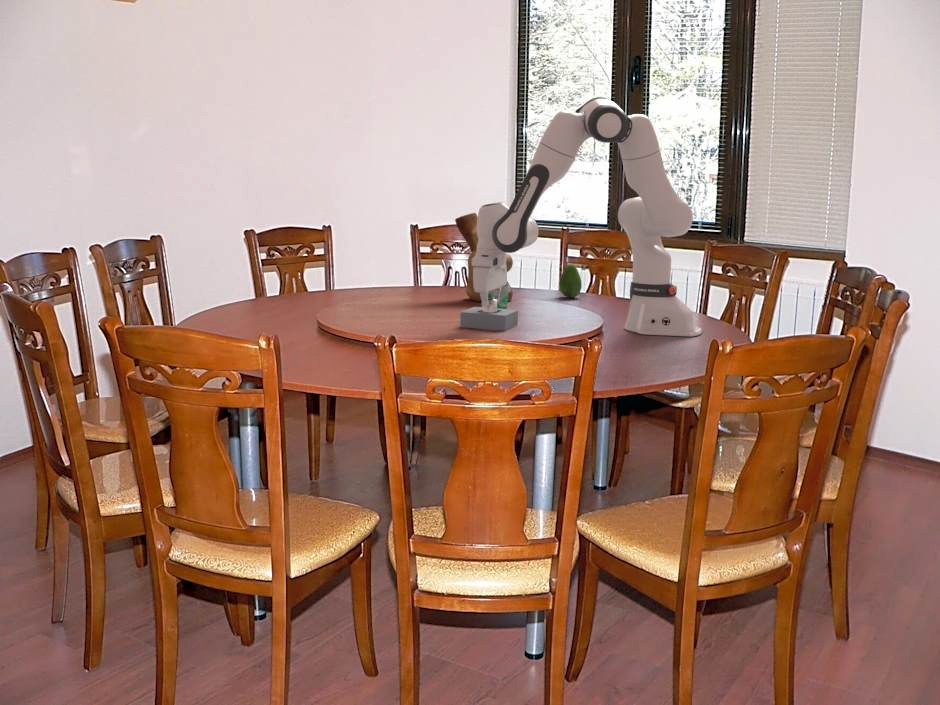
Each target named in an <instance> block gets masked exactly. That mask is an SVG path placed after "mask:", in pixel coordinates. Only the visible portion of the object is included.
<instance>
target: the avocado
mask: <svg viewBox="0 0 940 705" xmlns="http://www.w3.org/2000/svg"><path fill="white" fill-rule="evenodd" d="M558 282H559V284H558V286H559V290H560V292H561V294H562V295H563V296H564V297H566V298H568V299H574V298H576V297H577V296H578V295H579V294H580V292H581V289H582V279H581V275H580V273H579V270H578V269H577V266H576V265H574V264H568V265H566V266H565V267H564V269H563V270H562V273H561V275H560V278H559V281H558Z"/></svg>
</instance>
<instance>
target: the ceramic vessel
mask: <svg viewBox="0 0 940 705" xmlns="http://www.w3.org/2000/svg"><path fill="white" fill-rule="evenodd" d="M477 219H478V214H477V213H476V212H471V213H467V214H464V215H462V216H459V217H456V218H455V219H454V220H455V221H454V222H455V224H456V227H457V229H458V230H459V232H460V234H461V236H462V237H463V239H464V241H465V242H466V243H467V245H468V247H469V249H470V255H469V256H468V258H467V275H468V276H467V281H466V282H467V283H466V289H465V293H466V295H467V297H468V298H469V299H470V300H471V301H474V302H482V300H481V297H480V293H478V292H475V290H474V287H473V268H474V267H475V266H472V259H473V257H474V256H475V254H476V252H477V243H478V236H477ZM513 265H514V262H513V258H512V256H511V255H510V253H506V266H507V273H508V272H510V271H511V270H512V267H513ZM506 284H508V285H509V287H510V292H509V293H508V301H507V302H510V301H512V298H513V296H514V295H513V289H512V286H511V285H510V283H509V282H508V280H507V283H506Z"/></svg>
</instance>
